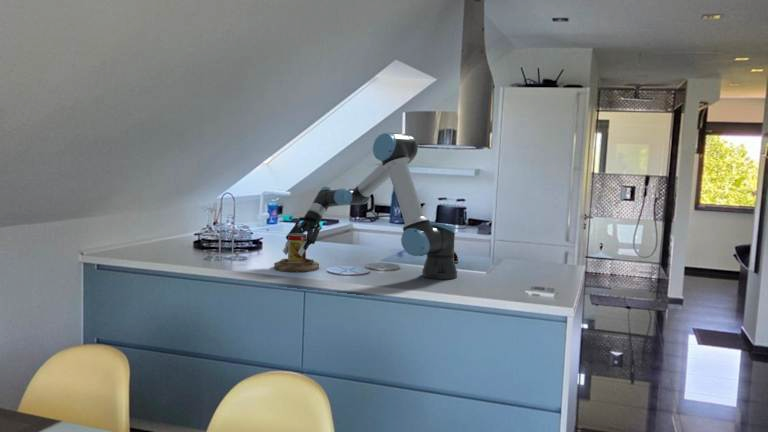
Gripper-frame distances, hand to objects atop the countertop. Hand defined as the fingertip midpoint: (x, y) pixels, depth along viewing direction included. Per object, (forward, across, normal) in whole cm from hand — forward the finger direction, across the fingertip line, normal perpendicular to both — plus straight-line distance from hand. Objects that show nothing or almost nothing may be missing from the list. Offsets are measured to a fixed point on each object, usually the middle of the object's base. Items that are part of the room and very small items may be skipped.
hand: (292, 253), depth 279 cm
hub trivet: (+3, 0, -7) cm, 8 cm away
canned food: (0, 0, -5) cm, 5 cm away
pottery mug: (-39, -47, -49) cm, 79 cm away
